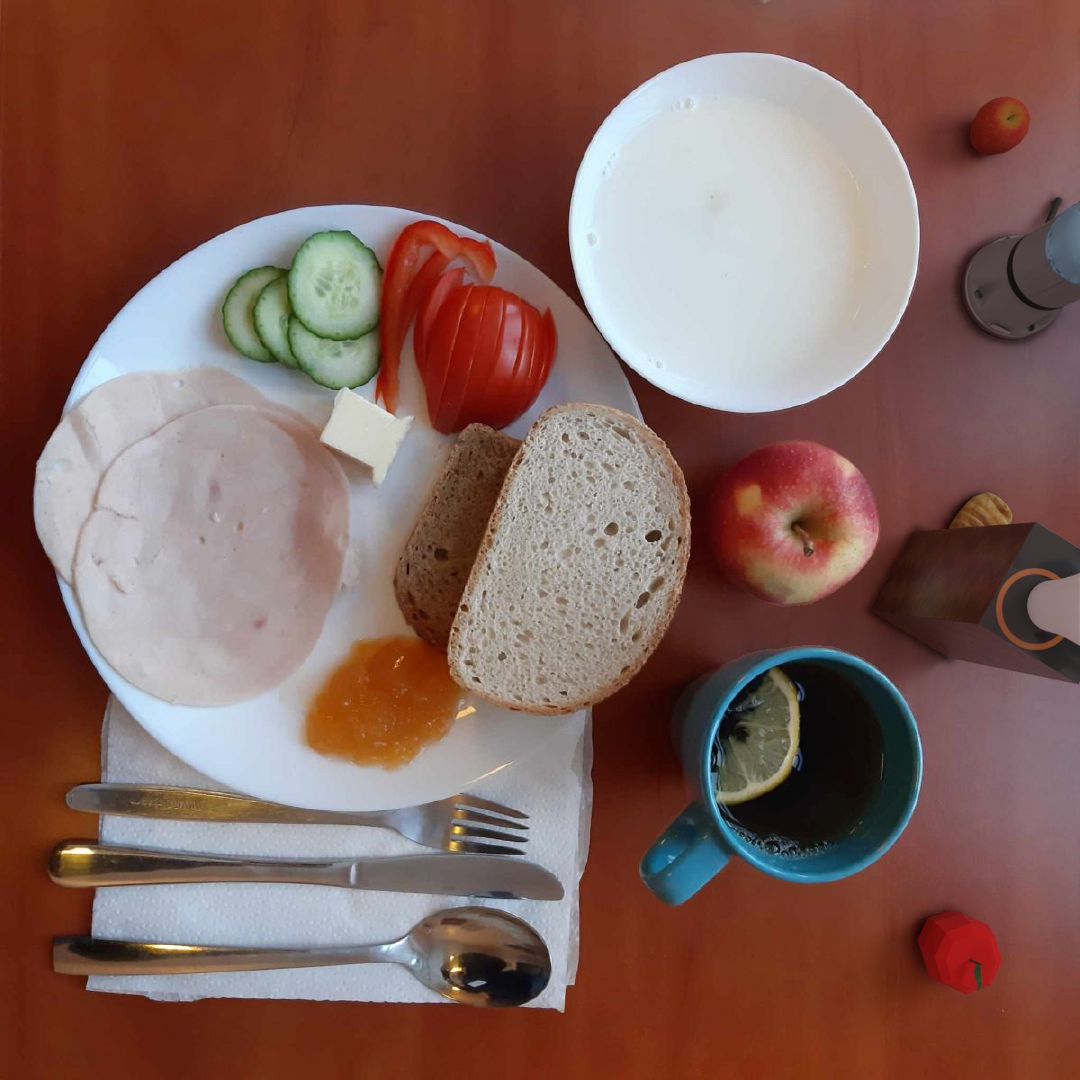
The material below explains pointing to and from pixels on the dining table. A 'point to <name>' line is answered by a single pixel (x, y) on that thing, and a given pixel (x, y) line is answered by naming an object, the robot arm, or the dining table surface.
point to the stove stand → (958, 594)
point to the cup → (1057, 607)
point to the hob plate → (1008, 608)
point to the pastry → (983, 512)
